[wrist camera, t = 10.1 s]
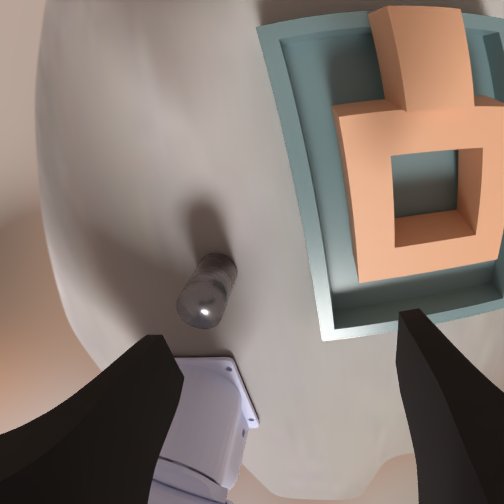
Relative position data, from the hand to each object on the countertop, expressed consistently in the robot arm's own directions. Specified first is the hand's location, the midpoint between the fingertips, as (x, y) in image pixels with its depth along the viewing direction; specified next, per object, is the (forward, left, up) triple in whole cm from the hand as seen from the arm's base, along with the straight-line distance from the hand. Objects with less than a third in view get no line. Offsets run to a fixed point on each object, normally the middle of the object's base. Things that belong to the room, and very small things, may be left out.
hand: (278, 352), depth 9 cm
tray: (+2, -7, -9) cm, 12 cm away
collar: (+4, -7, -8) cm, 11 cm away
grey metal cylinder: (-2, +5, -9) cm, 11 cm away
